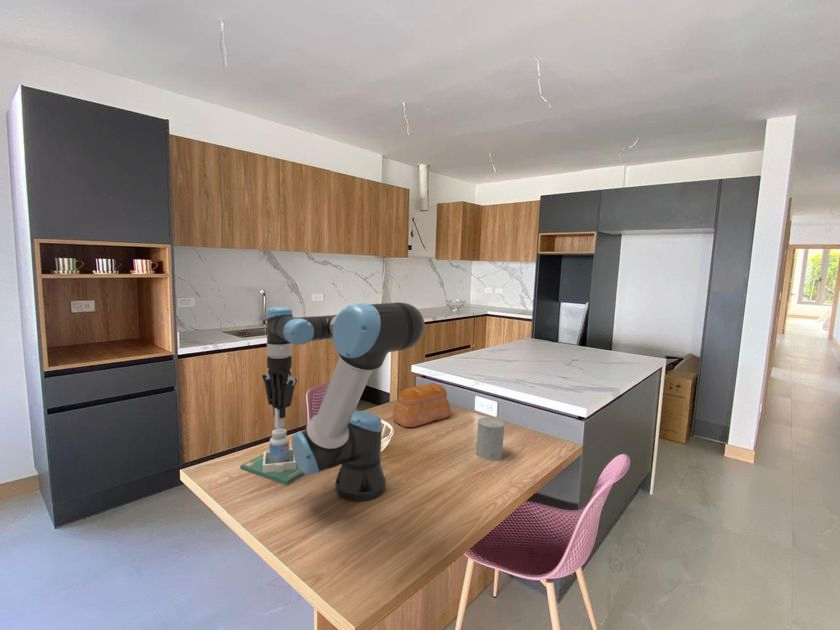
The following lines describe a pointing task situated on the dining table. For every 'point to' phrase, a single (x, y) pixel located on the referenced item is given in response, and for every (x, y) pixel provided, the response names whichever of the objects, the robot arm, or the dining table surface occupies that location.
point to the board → (272, 474)
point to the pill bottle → (279, 446)
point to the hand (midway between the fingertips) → (279, 426)
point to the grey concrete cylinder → (490, 438)
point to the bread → (421, 405)
